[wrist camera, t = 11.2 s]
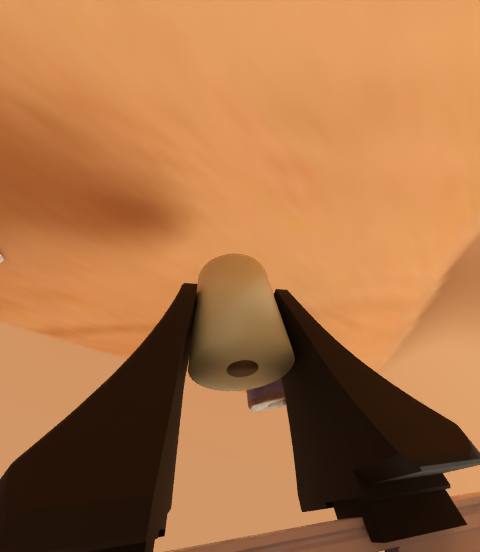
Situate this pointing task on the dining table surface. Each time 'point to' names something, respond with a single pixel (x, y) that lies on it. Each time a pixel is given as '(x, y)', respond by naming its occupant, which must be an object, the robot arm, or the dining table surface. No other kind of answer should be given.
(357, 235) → the dining table surface
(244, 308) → the sage bead
